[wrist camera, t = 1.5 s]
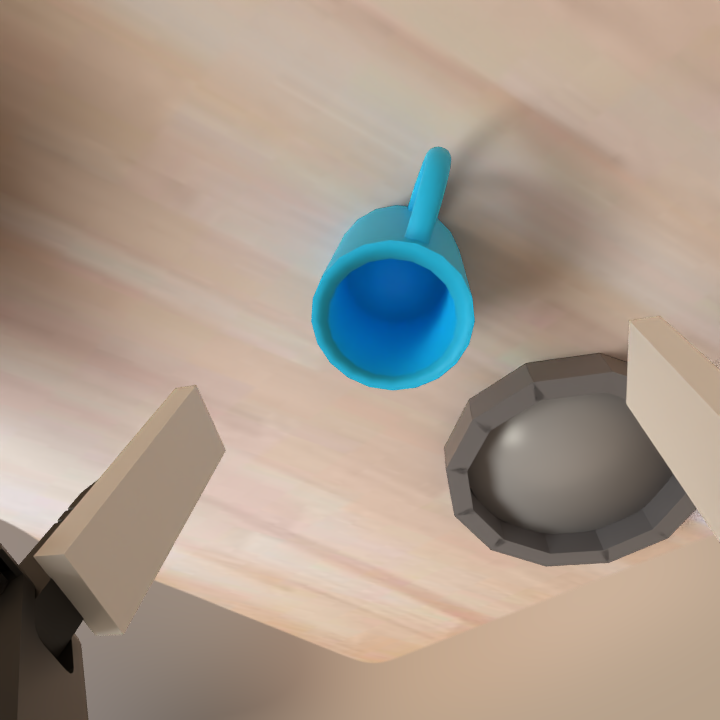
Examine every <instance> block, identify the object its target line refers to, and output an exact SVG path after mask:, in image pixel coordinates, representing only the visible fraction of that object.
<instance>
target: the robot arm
mask: <svg viewBox="0 0 720 720" xmlns="http://www.w3.org/2000/svg"><path fill="white" fill-rule="evenodd" d="M626 404H627V406H628V407H629V409H630V410H631V412H632V413H633V415H634V416H635V418H636V419H637V421H638V422H639V424H640V425H641V427H642V428H643V430H644V431H645V433H646V434H647V435H648V437H649V438H650V440H651V441H652V443H653V444H654V446H655V447H656V449H657V450H658V452H659V453H660V455H661V456H662V458H663V459H664V461H665V462H666V464H667V465H668V467H669V468H670V470H671V471H672V473H673V474H674V476H675V477H676V479H677V480H678V482H679V483H680V484H681V486H682V487H683V489H684V490H685V492H686V493H687V495H688V496H689V498H690V499H691V501H692V502H693V504H694V505H695V507H696V508H697V510H698V511H699V513H700V514H701V516H702V517H703V519H704V520H705V522H706V523H707V525H708V526H709V528H710V529H711V531H712V532H713V533H714V535H715V536H716V538H717V539H718V541H719V542H720V370H719V369H718V368H717V367H716V366H715V365H714V364H713V363H711V362H710V361H709V360H708V359H707V358H706V357H705V356H704V355H703V354H701V353H700V352H699V351H698V350H697V349H696V348H695V347H694V346H693V345H692V344H690V343H689V342H688V341H687V340H686V339H685V338H684V337H683V336H682V335H681V334H679V333H678V332H677V331H676V330H675V329H674V328H673V327H672V326H671V325H670V324H668V323H667V322H666V321H665V320H664V319H663V318H662V317H661V316H656V317H649V318H642V319H636V320H629V339H628V367H627V395H626ZM225 451H226V450H225V448H224V445H223V443H222V441H221V439H220V436H219V434H218V432H217V430H216V428H215V425H214V423H213V421H212V419H211V417H210V414H209V412H208V410H207V408H206V405H205V403H204V401H203V399H202V397H201V394H200V392H199V390H198V388H197V386H196V385H193V386H187V387H180V388H175V389H174V391H173V392H172V393H171V394H170V395H169V397H168V398H167V399H166V400H165V401H164V402H163V404H162V405H161V406H160V407H159V408H158V410H157V411H156V412H155V413H154V414H153V415H152V417H151V418H150V419H149V420H148V421H147V423H146V424H145V425H144V426H143V427H142V428H141V430H140V431H139V432H138V433H137V434H136V436H135V437H134V438H133V439H132V440H131V441H130V443H129V444H128V445H127V446H126V447H125V449H124V450H123V451H122V452H121V453H120V454H119V456H118V457H117V458H116V459H115V460H114V462H113V463H112V464H111V465H110V466H109V467H108V469H107V470H106V471H105V472H104V473H103V475H102V476H101V477H100V478H99V479H98V480H97V481H96V482H94V483H93V484H92V485H90V486H89V487H88V488H87V489H85V490H84V491H83V492H82V493H81V494H80V495H79V496H78V497H77V498H76V499H75V501H74V502H73V503H72V504H71V505H70V506H69V508H68V511H65V512H64V513H63V515H62V516H61V517H60V518H59V519H58V523H55V524H54V525H53V526H52V527H51V528H50V530H49V531H48V532H47V533H46V534H45V535H44V537H43V538H42V539H41V540H40V541H39V543H38V544H37V545H36V546H35V547H34V548H33V549H32V551H31V552H30V553H29V554H28V555H27V556H26V558H25V559H24V560H23V561H22V562H21V563H20V564H19V565H18V564H17V563H16V561H15V560H14V559H13V558H12V557H11V555H10V554H9V553H8V552H7V550H6V549H5V548H4V547H3V546H2V544H1V543H0V720H88V711H87V700H86V690H85V679H84V669H83V658H82V648H81V643H80V641H79V639H78V637H77V636H76V635H75V632H76V630H77V628H78V627H79V625H80V624H81V622H82V620H84V621H85V623H86V624H87V625H88V627H89V628H90V629H91V630H92V632H93V633H94V634H95V635H96V636H99V635H123V634H124V633H125V631H126V629H127V628H128V626H129V624H130V622H131V621H132V619H133V617H134V615H135V613H136V612H137V610H138V608H139V606H140V604H141V603H142V601H143V599H144V597H145V595H146V594H147V591H148V590H149V588H150V586H151V585H152V583H153V581H154V579H155V577H156V575H157V574H158V572H159V570H160V568H161V566H162V565H163V563H164V561H165V559H166V557H167V556H168V554H169V552H170V550H171V548H172V547H173V545H174V543H175V541H176V539H177V538H178V536H179V534H180V532H181V530H182V529H183V527H184V525H185V523H186V521H187V520H188V518H189V516H190V514H191V512H192V510H193V509H194V507H195V505H196V503H197V501H198V500H199V498H200V496H201V494H202V492H203V491H204V489H205V487H206V485H207V483H208V482H209V480H210V478H211V476H212V474H213V473H214V471H215V469H216V467H217V465H218V464H219V462H220V460H221V458H222V456H223V454H224V453H225Z"/></svg>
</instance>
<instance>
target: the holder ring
mask: <svg viewBox="0 0 720 720" xmlns="http://www.w3.org/2000/svg"><path fill="white" fill-rule="evenodd" d="M627 367H628V362H625V361H622V360H619V359H616V358H613V357H610V356H607V355H604V354H601V353H597V354H590V355H583V356H576V357H569V358H561V359H554V360H547V361H540V362H533V363H526V364H524V365H523V366H521V367H519V368H518V369H516V370H515V371H513V372H512V373H510V374H508V375H507V376H505V377H504V378H502V379H501V380H499V381H498V382H496V383H494V384H493V385H491V386H490V387H488V388H487V389H485V390H484V391H482V392H480V393H479V394H477V395H476V396H474V397H473V398H471V399H470V400H469V401H468V403H467V405H466V407H465V408H464V410H463V412H462V414H461V416H460V418H459V420H458V422H457V424H456V426H455V428H454V430H453V432H452V434H451V435H450V437H449V439H448V441H447V443H446V445H445V447H444V451H445V464H446V473H447V478H448V483H449V489H450V494H451V499H452V505H453V510H454V515H455V517H456V518H457V519H459V520H460V521H461V522H462V523H463V524H464V525H465V526H466V527H467V528H468V529H469V530H470V531H471V532H472V533H474V534H475V535H476V536H477V537H478V538H479V539H480V540H481V541H482V542H483V543H484V544H485V545H486V546H488V547H489V548H490V549H491V550H493V551H497V552H500V553H503V554H507V555H510V556H513V557H516V558H520V559H523V560H526V561H530V562H533V563H536V564H540V565H543V566H561V565H579V564H596V563H609V562H612V561H614V560H617V559H619V558H621V557H624V556H626V555H629V554H631V553H634V552H636V551H638V550H641V549H643V548H646V547H648V546H650V545H653V544H655V543H658V542H660V541H662V540H665V539H667V538H669V537H670V536H671V535H672V534H673V533H674V531H675V530H676V529H677V528H678V527H679V526H680V525H681V524H682V523H683V522H684V521H685V520H686V519H687V518H688V517H689V516H690V515H691V514H692V513H693V512H694V511H695V510H696V509H697V508H696V507H695V505H694V504H693V502H692V501H691V499H690V498H689V496H688V495H687V493H686V492H685V490H684V489H683V487H682V486H681V484H680V483H679V482H678V480H677V479H676V477H675V476H674V474H673V473H672V471H671V470H670V468H669V467H668V465H667V464H666V462H665V461H664V459H663V458H662V456H661V455H660V453H659V452H658V450H657V449H656V447H655V446H654V444H653V443H652V441H651V440H650V438H649V437H648V435H647V434H646V433H645V431H644V430H643V428H642V427H641V425H640V424H639V422H638V421H637V419H636V418H635V416H634V415H633V413H632V412H631V410H630V409H629V407H628V406H627V404H626V395H627ZM470 487H471V488H470Z"/></svg>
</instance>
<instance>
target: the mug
mask: <svg viewBox="0 0 720 720" xmlns="http://www.w3.org/2000/svg"><path fill="white" fill-rule="evenodd" d="M450 167H451V155H450V153H449V151H447V150H446V149H445V148H442V147H434V148H431V149H430V150H429V151H428V152H427V154H426V156H425V158H424V161H423V163H422V166H421V169H420V172H419V175H418V177H417V180H416V183H415V186H414V189H413V192H412V195H411V198H410V201H409V205H408V207H407V206H399V205H395V206H390V207H384V208H379V209H375V210H374V211H372V212H370V213H368V214H367V215H365V216H363V217H361V218H359V219H358V220H357V221H356V222H355V223H354V224H353V226H352V227H351V228H350V229H349V230H348V231H347V232H346V233H345V235H344V236H343V238H342V240H341V242H340V244H339V246H338V248H337V250H336V251H335V253H334V255H333V257H332V259H331V261H330V263H329V265H328V266H327V268H326V270H325V272H324V274H323V276H322V278H321V280H320V283H319V285H318V288H317V290H316V292H315V295H314V297H313V304H312V321H311V322H312V325H313V329H314V333H315V336H316V340H317V343H318V345H319V347H320V348H321V350H322V351H323V353H324V354H325V356H326V357H327V359H328V360H329V362H330V363H331V364H332V365H334V366H335V367H336V368H337V369H338V370H340V371H341V372H342V373H343V374H344V375H346V376H347V377H348V378H350V379H353V380H355V381H357V382H359V383H362V384H364V385H366V386H369V387H374V388H380V389H387V390H400V389H408V388H416V387H419V386H421V385H424V384H426V383H429V382H431V381H433V380H436V379H438V378H439V377H441V376H442V375H443V374H444V373H446V372H447V371H448V370H449V369H450V368H452V367H453V366H454V365H455V364H456V363H457V362H458V360H459V359H460V357H461V356H462V354H463V353H464V351H465V350H466V348H467V347H468V345H469V342H470V338H471V334H472V330H473V326H474V322H475V318H474V309H473V299H472V294H471V291H470V287H469V283H468V280H467V276H466V273H465V269H464V265H463V262H462V258H461V254H460V251H459V248H458V246H457V244H456V242H455V240H454V238H453V236H452V234H451V232H450V231H449V230H448V229H447V228H446V227H445V226H444V224H443V223H442V222H441V221H440V220H439V219H438V218H437V217H438V214H439V211H440V207H441V204H442V200H443V197H444V193H445V189H446V186H447V182H448V177H449V172H450Z"/></svg>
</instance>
